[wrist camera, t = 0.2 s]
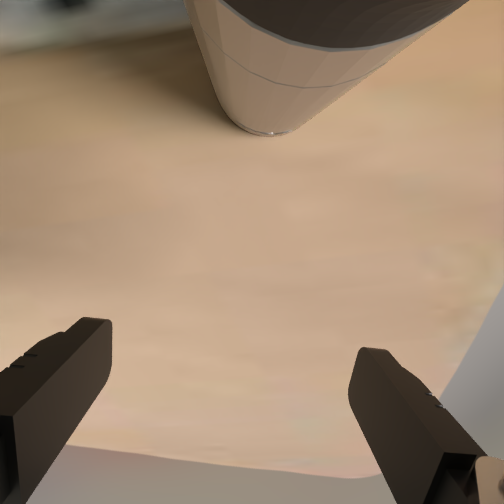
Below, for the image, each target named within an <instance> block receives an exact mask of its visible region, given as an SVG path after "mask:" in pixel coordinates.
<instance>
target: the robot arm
mask: <svg viewBox="0 0 504 504" xmlns="http://www.w3.org/2000/svg"><path fill="white" fill-rule="evenodd" d="M468 1H469V0H183V2H184V5H185V7H186V10H187V13H188V16H189V19H190V22H191V25H192V27H193V30H194V33H195V36H196V39H197V42H198V44H199V47H200V50H201V53H202V56H203V59H204V62H205V64H206V67H207V70H208V73H209V76H210V79H211V82H212V85H213V88H214V91H215V93H216V96H217V98H218V100H219V103H220V105H221V107H222V109H223V110H224V111H225V113H226V114H227V115H228V117H229V118H230V119H231V120H232V121H233V122H234V123H236V124H237V125H238V126H239V127H240V128H242V129H244V130H246V131H248V132H250V133H252V134H256V135H259V136H270V137H274V136H279V135H284V134H287V133H289V132H292V131H294V130H296V129H297V128H299V127H300V126H301V125H303V124H304V123H306V122H307V121H308V120H310V119H312V118H313V117H314V116H316V115H317V114H318V113H320V112H321V111H322V110H324V109H325V108H326V107H328V106H329V105H330V104H332V103H333V102H334V101H336V100H337V99H338V98H340V97H341V96H343V95H344V94H345V93H347V92H348V91H349V90H351V89H352V88H353V87H355V86H356V85H357V84H359V83H360V82H361V81H363V80H364V79H365V78H367V77H368V76H369V75H371V74H372V73H373V72H375V71H376V70H377V69H379V68H380V67H381V66H383V65H384V64H385V63H387V62H388V61H389V60H390V59H392V58H393V57H394V56H396V55H397V54H398V53H400V52H401V51H402V50H404V49H405V48H406V47H408V46H409V45H410V44H412V43H413V42H414V41H416V40H417V39H418V38H420V37H421V36H422V35H424V34H425V33H426V32H428V31H429V30H430V29H432V28H433V27H434V26H436V25H437V24H438V23H440V22H441V21H442V20H444V19H445V18H446V17H448V16H449V15H450V14H452V13H453V12H454V11H455V10H457V9H458V8H459V7H461V6H462V5H463V4H465V3H466V2H468ZM111 366H112V322H111V321H110V320H109V319H99V318H90V317H83V318H81V319H79V320H78V321H77V322H76V323H75V324H74V325H72V326H71V327H70V328H69V329H68V330H67V331H65V332H58V333H56V334H54V335H52V336H49V337H47V338H45V339H43V340H41V341H39V342H38V343H37V344H35V345H34V346H33V347H32V348H30V349H29V350H28V351H27V352H25V353H24V355H23V356H20V357H19V358H18V359H16V360H15V361H14V362H13V363H11V364H10V367H9V368H8V367H6V368H5V369H4V370H3V371H1V372H0V504H26V502H27V501H28V499H29V497H30V496H31V495H32V493H33V491H34V490H35V488H36V487H37V486H38V484H39V483H40V481H41V480H42V478H43V477H44V475H45V474H46V472H47V471H48V469H49V468H50V466H51V464H52V463H53V462H54V460H55V459H56V457H57V456H58V454H59V453H60V451H61V450H62V448H63V447H64V445H65V444H66V442H67V441H68V439H69V438H70V436H71V435H72V433H73V432H74V430H75V429H76V427H77V426H78V424H79V423H80V421H81V420H82V418H83V417H84V415H85V414H86V412H87V411H88V409H89V408H90V406H91V405H92V403H93V402H94V400H95V399H96V397H97V396H98V394H99V393H100V391H101V390H102V388H103V387H104V385H105V384H106V382H107V380H108V377H109V374H110V371H111ZM348 398H349V403H350V406H351V409H352V411H353V413H354V415H355V417H356V419H357V421H358V423H359V426H360V428H361V430H362V432H363V434H364V436H365V438H366V440H367V442H368V444H369V446H370V448H371V450H372V453H373V455H374V457H375V459H376V461H377V463H378V465H379V467H380V469H381V471H382V473H383V475H384V478H385V480H386V482H387V484H388V486H389V488H390V490H391V492H392V494H393V496H394V498H395V500H396V503H397V504H504V460H501V459H499V458H496V457H490V456H488V455H487V454H486V453H485V452H484V451H483V450H482V449H481V448H480V447H479V445H477V443H476V442H475V441H474V440H473V439H472V438H471V436H470V435H469V434H468V433H467V432H466V431H465V430H464V429H463V428H462V426H461V425H460V424H459V423H458V422H457V421H456V420H455V419H454V417H453V416H452V415H451V414H450V413H449V412H448V411H447V410H446V409H444V408H443V405H442V404H441V403H440V402H439V401H438V399H437V398H436V397H435V396H432V393H431V392H430V391H429V389H428V388H427V387H426V386H425V385H424V384H423V383H422V382H421V380H420V379H418V378H417V377H416V376H414V375H413V374H412V373H410V372H409V371H408V370H406V369H405V368H403V367H402V366H401V365H400V364H399V363H398V362H397V361H396V359H395V358H394V357H393V356H392V355H391V354H390V352H389V351H387V350H385V349H376V348H367V347H362V348H361V349H360V350H359V352H358V354H357V358H356V362H355V365H354V369H353V373H352V376H351V380H350V383H349V388H348Z"/></svg>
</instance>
